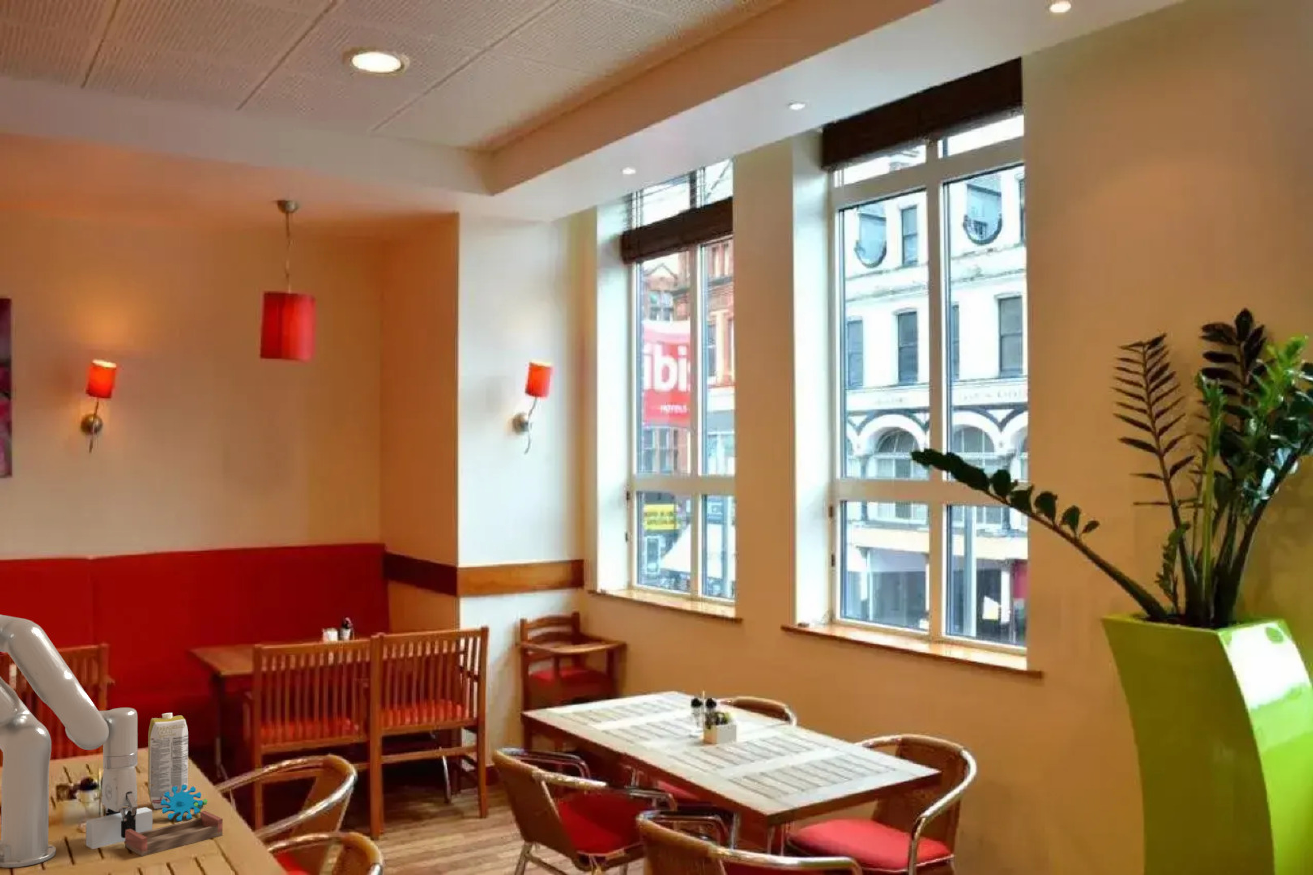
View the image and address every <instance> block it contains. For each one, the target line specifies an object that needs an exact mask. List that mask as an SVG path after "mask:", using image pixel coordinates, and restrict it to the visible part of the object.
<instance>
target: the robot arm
mask: <svg viewBox="0 0 1313 875" xmlns="http://www.w3.org/2000/svg"><path fill="white" fill-rule="evenodd" d="M0 652H1V653H7V654H8V655H9V656H10V658H11V660H12V661H13V662H14V664H15V665H16V666H17V668H18V669H19V671H20V672H21V674H22V676H24V678H25V680H26V681H27V682H28V684H29V685H30V686H31V688H32V690H33V691H34V692H35V694H36V695H37V696H38V697H39V699H40V700H41V701H42V702H43V703H44V704H46V705H47V707H49V708H50V709H51V710H52V711H53V713H54V714H55V715H56V716H57V718H58V720H60V722H61V723H62V724H63V726H64V727H65V729H64V731H65V734H66V736H67V738H68V739H69V740H71V742H73V743H74V744H75V746H77V747H79V748H81V749H83V750H86V751H92V750H96V749H98V748H101V747H102V757H103V758H102V763H103V764H102V769H103V772H102V781H101V804H102V805H103V807H104V811H105V816H109V815H113V814H118V813H121V815H122V819H123V821H121V837H122V838H125V830H127V829H132V830H134V831H136V813H137V809H138V807H139V806H138V803H137V801H138V786H137V784H138V783H137V782H138V781H137V773H136V767H137V766H138V712H137V710H136V709H135V708H132V707H118V708H112V709H110V710H98V708H97V707H96V705H95V703H94V702H93V701H92V700H91V698H90V697H89V695H88V694H87V692H86V690H84V688H83V687H82V685H81V684H80V682H79V680H78V679H77V677H76V676H75V674H74V673H73V671H72V670H71V668H70V667H69V665H67V663H66V661H65V660H64V659H63V657H62V655H61V654H60V653H59V651H58V650H57V648H56V647H55V645H54V644H53V642H52V641H51V640H50V638H49V637H48V635H47V633H46V632H45V630H44V629H43V628H42V627H41V626H40V625H39V624H37V623H35V622H34V621H33V620H30V619H27V618H21V617H16V616H11V615H5V614H4V615H3V614H0ZM0 750H1V752H2V757H3V758H2V770H1V813H0V814H1V816H0V817H1V821H0V822H1V824H0V825H1V827H0V830H1V832H0V836H1V839H0V868H7V869H9V868H20V867H21V868H22V867H27V866H28V867H29V866H32V865H37V864H41V863H43V862H46V861H48V860H50V859H51V858H53V857H54V856H55V855H56V853H57V850H56V849H57V848H56V846H54V845H51V844H49V810H50V807H49V805H50V804H49V802H50V801H49V797H50V796H49V795H50V782H49V781H50V762H51V753H52V739H51V735H50V733H49V730H48V729H47V727H46V726H45V725H44V724H43V723H42V722H41V721H39V720H38V719H37V717H35V715H34V714H33V713H32V712H31V711H30V709H29V708H28V707H27V706H26V705H25V703H24V702H23V701H22V700H21V699H20V697H19V696H18V694H17V692H16V691H15V689H14V688H12V686H10V685H9V684H8V683H7V682H6V681H5V680H4V679H3V678H2V677H1V676H0ZM126 811H128V812H127V814H126V813H125V812H126Z"/></svg>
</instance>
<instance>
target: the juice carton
mask: <svg viewBox="0 0 1313 875" xmlns="http://www.w3.org/2000/svg"><path fill="white" fill-rule="evenodd" d="M161 716H162V717H159V718H158V717H154V718H153V717H152V718H151V719H150V723H149V728H148V735H147V736H148V737H147V738H148V739H147V740H148V741H147V743H148V746H147V748H148V750H147V753H148V754H147V763H148V764H147V794H148V797H149V801H150V804H151V805H152V807H153V809H155V810H156V809H162V808H163V807H166V808H170V807H169V806H167V805H160V804H161V801H162V799H165V800H166V802H170V800H169V799H168V798H166V797H164V794H165V793H166V792H170V797H173V796H174V793H173V791H172V787H175V786H177V787H178V788H177V791H176V793H179V792H180V791H181V789H182V785H183V784H184V785H187V789H186V790H184V791H183V792H187V791H188V790H189V789H188V785H189V783H188V782H189V781H188V776H189V772H188V770H189V731H188V724H187V719H186V718H185V717H184V716H183V715H175V716H174V715H173V712H166V713H162V714H161Z"/></svg>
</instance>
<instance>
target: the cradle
mask: <svg viewBox="0 0 1313 875" xmlns="http://www.w3.org/2000/svg"><path fill="white" fill-rule="evenodd" d="M223 824H224V822H223V818H222V817H219V816H218V815H215V814H213V813H211V812H209V811H207V810H201V812H200V813H199V817H198V818H194V819H191V820H190V819H188V820H186V821H180V822H178V823H174V824H169V825H165V826H162V827H157V828H154V829H153V828H152V830H149V831H145V832H141V833H138V832H136V831H134V830H132V829H127V830H125V841H124V843H125V845H124V847H125V848H126V849H128V850H130V851H132V852H133V853H136V854H137V855H139V856H140V857H144V856H149V855H152V854H155V853H160V852H163V851H167V850H171V849H175V848H178V847H183V846H187V845H190V844H194V843H197V842H202V841H206V840H209V839H212V838H217V837H221V836H223Z"/></svg>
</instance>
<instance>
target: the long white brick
mask: <svg viewBox="0 0 1313 875" xmlns="http://www.w3.org/2000/svg"><path fill="white" fill-rule="evenodd" d="M128 811H129V810H128ZM128 811H125V813H126V814H127V812H128ZM121 821H123V819H122V815H121V812H120V813H118V814H113V815H109V816H106V815H105V816H100V817H96V818H91V819H87V820H85V846H86V847H88V848H90V849H92V850H93V849H98V848H102V847H107V846H110V845H111V846H112V845H115V844H118V843H123V842H125V838H122V837H121ZM149 830H153V810H152V809H151V808H148V807H147V806H146V807H140V808H137V813H136V832H138V833H141V832H145V831H149Z"/></svg>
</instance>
